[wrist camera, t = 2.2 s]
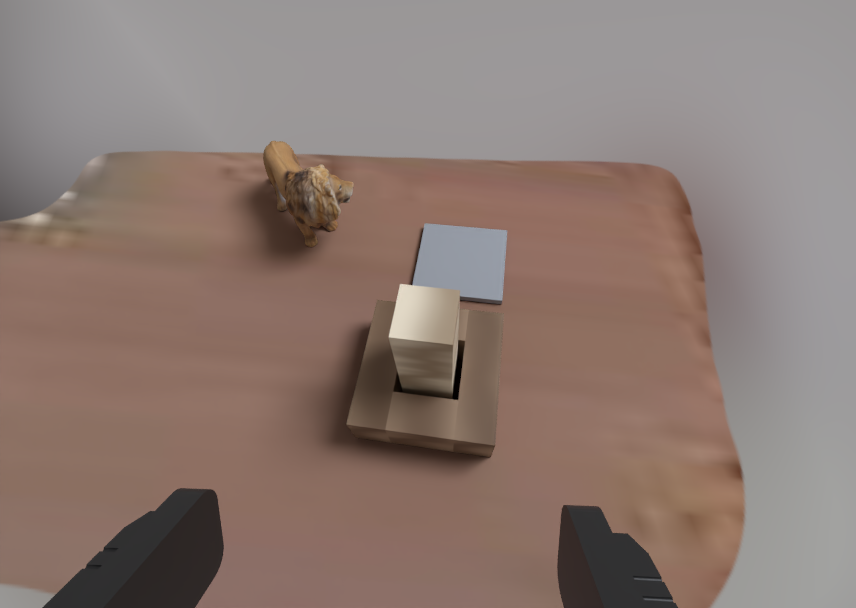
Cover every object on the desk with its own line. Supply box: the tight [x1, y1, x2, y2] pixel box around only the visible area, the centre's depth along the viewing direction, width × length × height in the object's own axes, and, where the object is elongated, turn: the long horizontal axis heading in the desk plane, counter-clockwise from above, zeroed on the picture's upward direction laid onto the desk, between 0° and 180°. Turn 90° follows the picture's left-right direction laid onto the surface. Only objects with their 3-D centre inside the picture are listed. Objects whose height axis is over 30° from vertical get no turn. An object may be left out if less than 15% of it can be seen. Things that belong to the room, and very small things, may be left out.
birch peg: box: [389, 284, 460, 399], centre depth 29 cm, size 4×4×11 cm
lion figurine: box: [263, 141, 354, 247], centre depth 40 cm, size 15×5×9 cm, turn 43°
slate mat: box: [412, 223, 507, 304], centre depth 40 cm, size 8×8×1 cm
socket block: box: [346, 300, 504, 457], centre depth 32 cm, size 10×10×4 cm
